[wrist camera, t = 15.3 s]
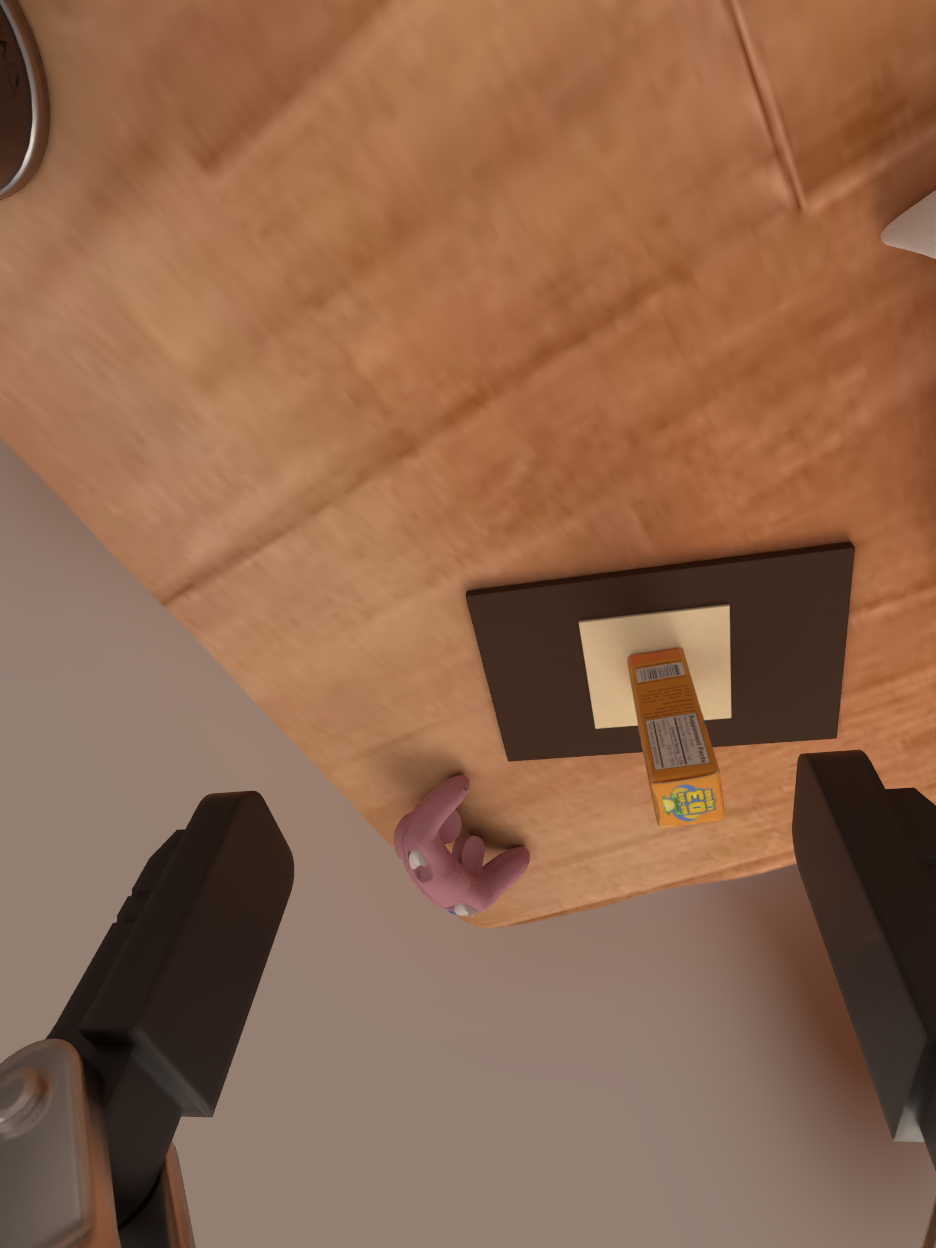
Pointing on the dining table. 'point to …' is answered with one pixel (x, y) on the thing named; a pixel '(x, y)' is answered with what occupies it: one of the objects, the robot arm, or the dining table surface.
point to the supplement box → (674, 740)
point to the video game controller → (453, 854)
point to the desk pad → (663, 619)
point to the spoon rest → (914, 228)
